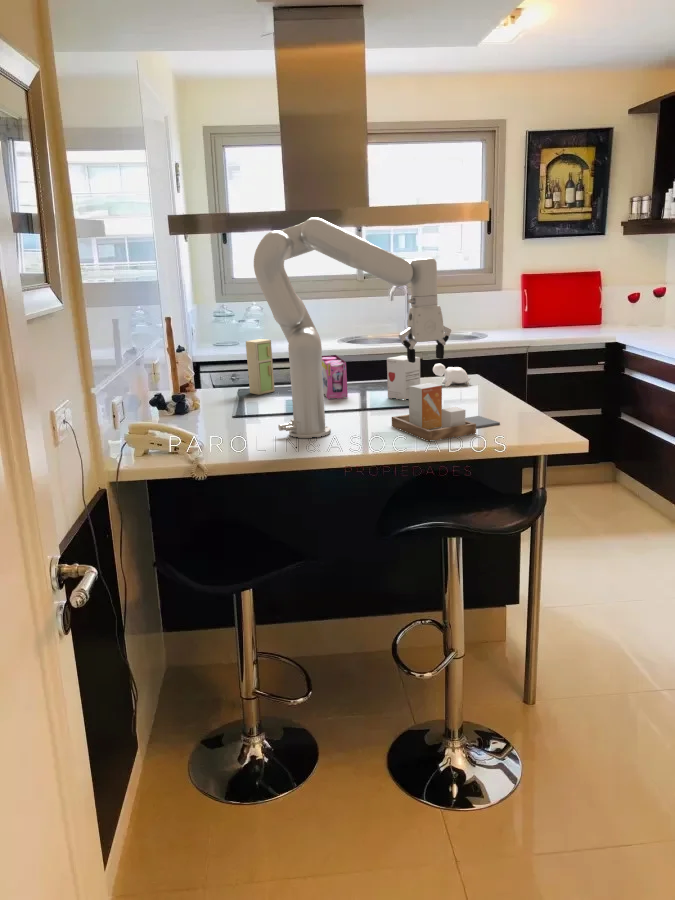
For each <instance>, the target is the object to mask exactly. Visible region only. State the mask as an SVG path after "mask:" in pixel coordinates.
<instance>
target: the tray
mask: <svg viewBox="0 0 675 900" xmlns="http://www.w3.org/2000/svg"><path fill="white" fill-rule="evenodd" d="M392 426H393V427H392ZM391 427H392V428H395V429H397V428H398V429H397V430H399V429H401V430H400V431H402V430H403V431H402V432H404V431H406V432H405V433H407V432H408V433H407V434H409V433H411V434H413V435H412V436H414V435H415V436H414V437H416V436H418V437H417V438H419V437H420V438H419V439H421V438H423V439H425V440H424V441H426V440H428V441H430V440H436V441H441V440H440V439H442V440H446V439H447V438H448V439H452V437H454V438H459V437H458V436H460V437H465V436H464V435H466V436H471V435H470V434H472V435H476V434H477V428H476V424H475V423H472V422H469V421H466V420H465V425H459V426H453V427H447V428H442V427H440V428H433V429H425V428H423V427H420V426H418V425H415V424H412V423H410V422H409V413H408V414H402V415H396V416H391ZM475 433H476V434H475ZM411 434H410V435H411ZM423 439H422V440H423ZM428 441H427V442H428ZM430 442H431V441H430Z"/></svg>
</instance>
